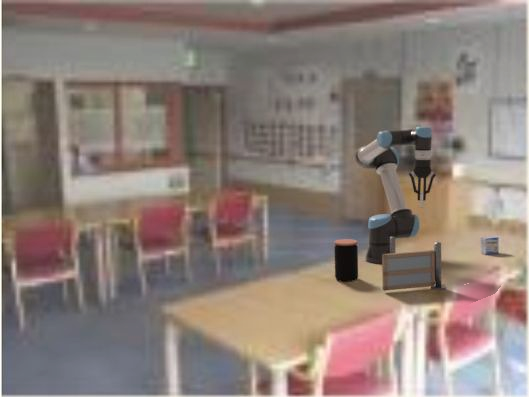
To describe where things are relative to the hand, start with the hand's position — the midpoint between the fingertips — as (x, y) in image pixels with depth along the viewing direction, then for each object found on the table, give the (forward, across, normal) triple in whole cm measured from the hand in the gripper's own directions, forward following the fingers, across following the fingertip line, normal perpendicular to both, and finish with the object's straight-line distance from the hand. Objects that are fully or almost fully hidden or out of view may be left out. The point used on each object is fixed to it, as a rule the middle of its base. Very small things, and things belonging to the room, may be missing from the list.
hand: (421, 207), depth 340 cm
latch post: (+30, -12, -22) cm, 39 cm away
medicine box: (+29, +35, +31) cm, 55 cm away
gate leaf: (+28, -3, -45) cm, 53 cm away
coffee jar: (+31, -33, -28) cm, 53 cm away
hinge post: (+29, +9, -39) cm, 49 cm away
